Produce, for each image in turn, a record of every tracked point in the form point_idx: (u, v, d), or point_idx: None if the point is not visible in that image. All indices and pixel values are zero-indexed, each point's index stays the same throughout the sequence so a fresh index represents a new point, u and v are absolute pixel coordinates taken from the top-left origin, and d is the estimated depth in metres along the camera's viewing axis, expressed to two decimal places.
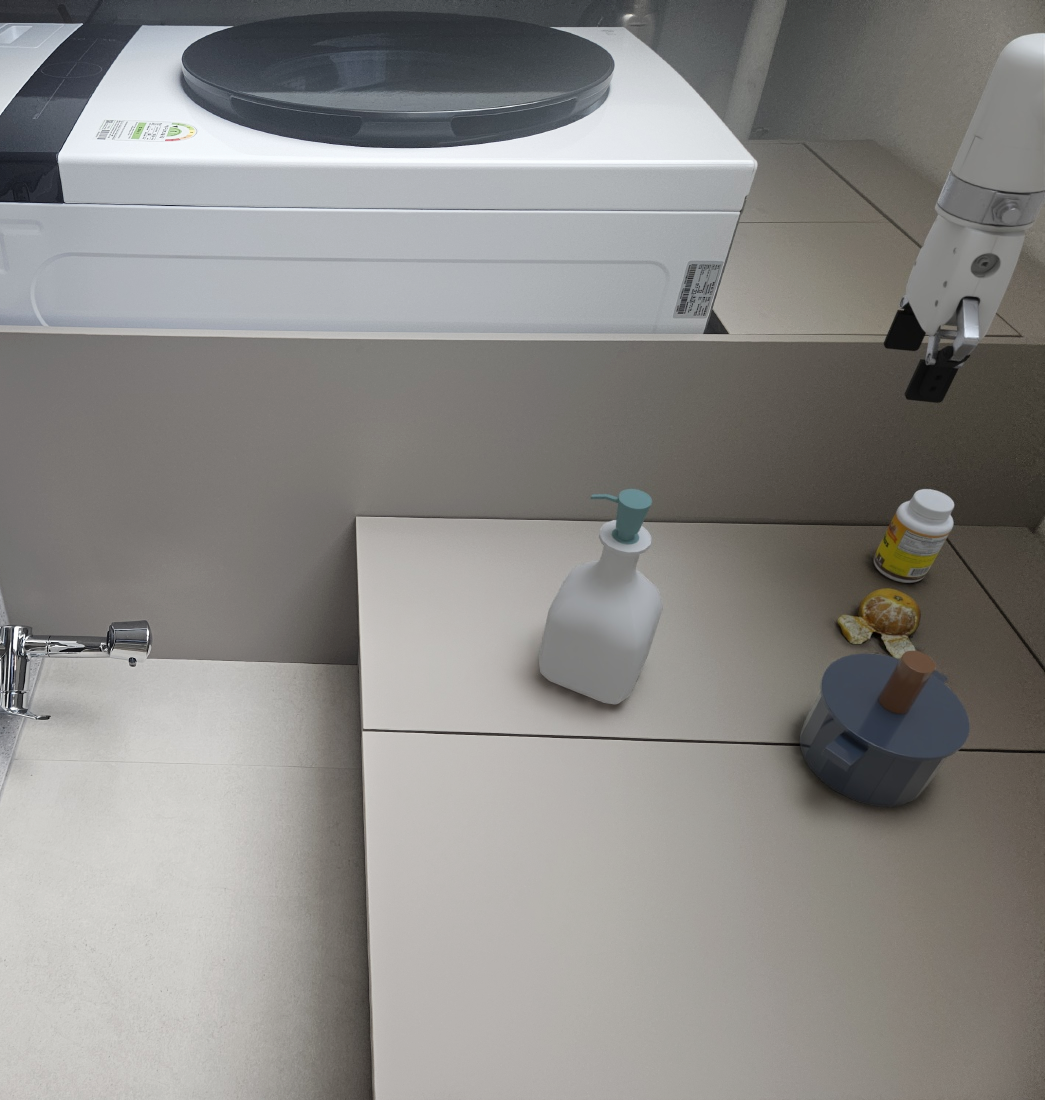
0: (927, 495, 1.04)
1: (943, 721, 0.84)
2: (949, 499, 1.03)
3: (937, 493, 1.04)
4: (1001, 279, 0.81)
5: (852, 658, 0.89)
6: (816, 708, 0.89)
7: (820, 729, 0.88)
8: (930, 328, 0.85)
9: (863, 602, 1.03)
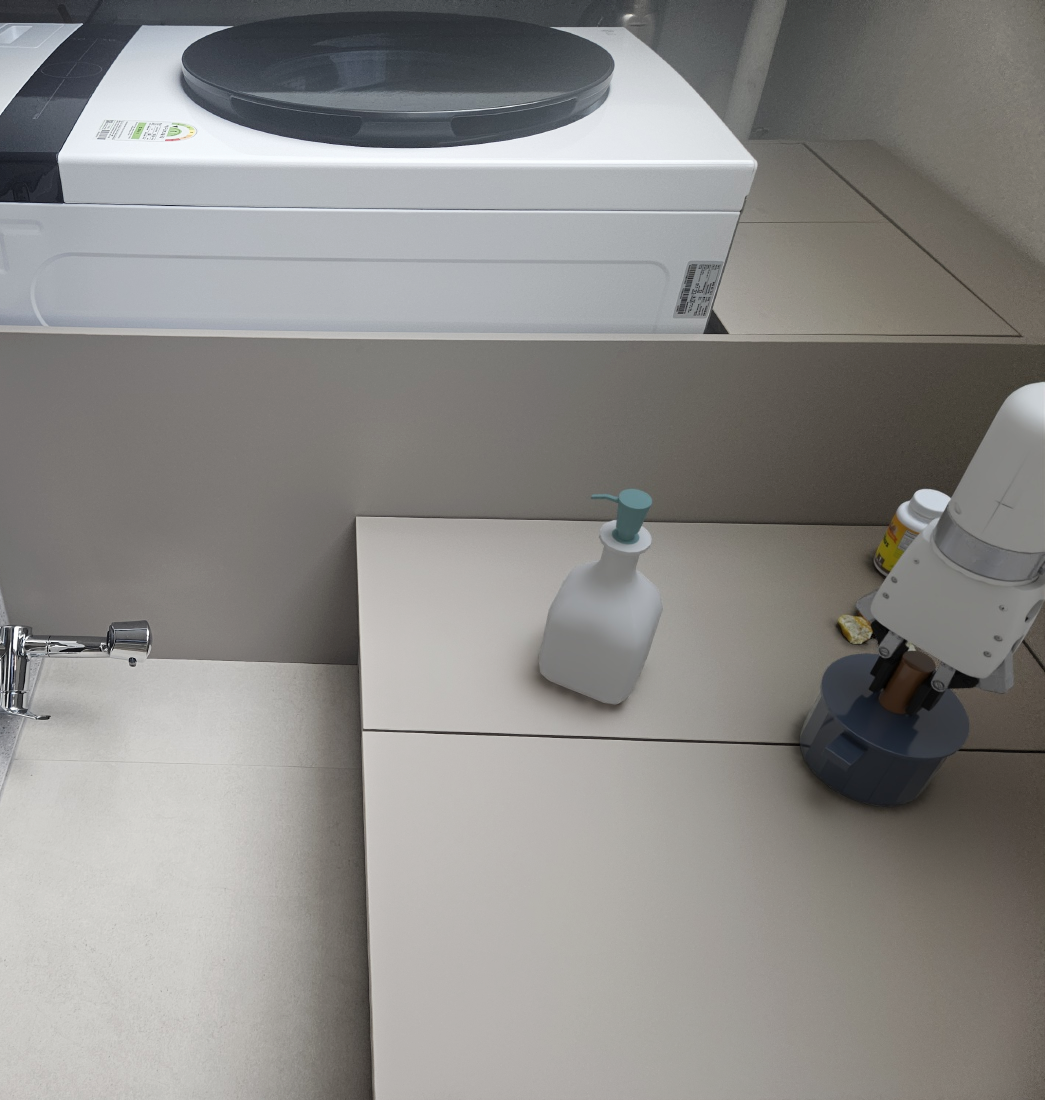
0: (927, 495, 1.04)
1: (943, 721, 0.84)
2: (949, 499, 1.03)
3: (937, 493, 1.04)
4: (1038, 612, 0.74)
5: (852, 658, 0.89)
6: (816, 708, 0.89)
7: (820, 729, 0.88)
8: (982, 674, 0.76)
9: None
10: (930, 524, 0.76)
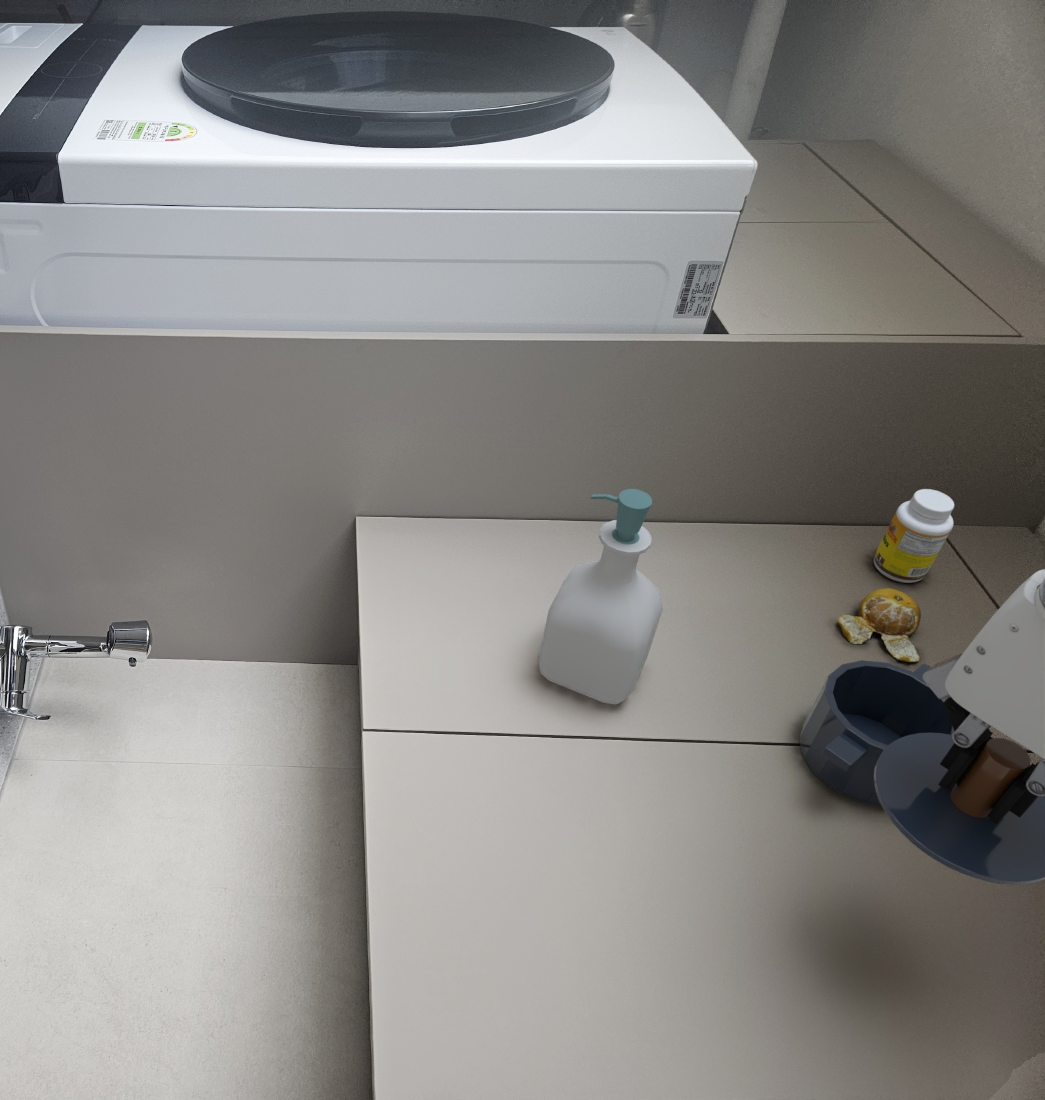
0: (927, 495, 1.04)
1: (1036, 828, 0.65)
2: (949, 499, 1.03)
3: (937, 493, 1.04)
4: None
5: (913, 739, 0.70)
6: (816, 708, 0.89)
7: (820, 729, 0.88)
8: None
9: (863, 602, 1.03)
10: (1032, 579, 0.57)
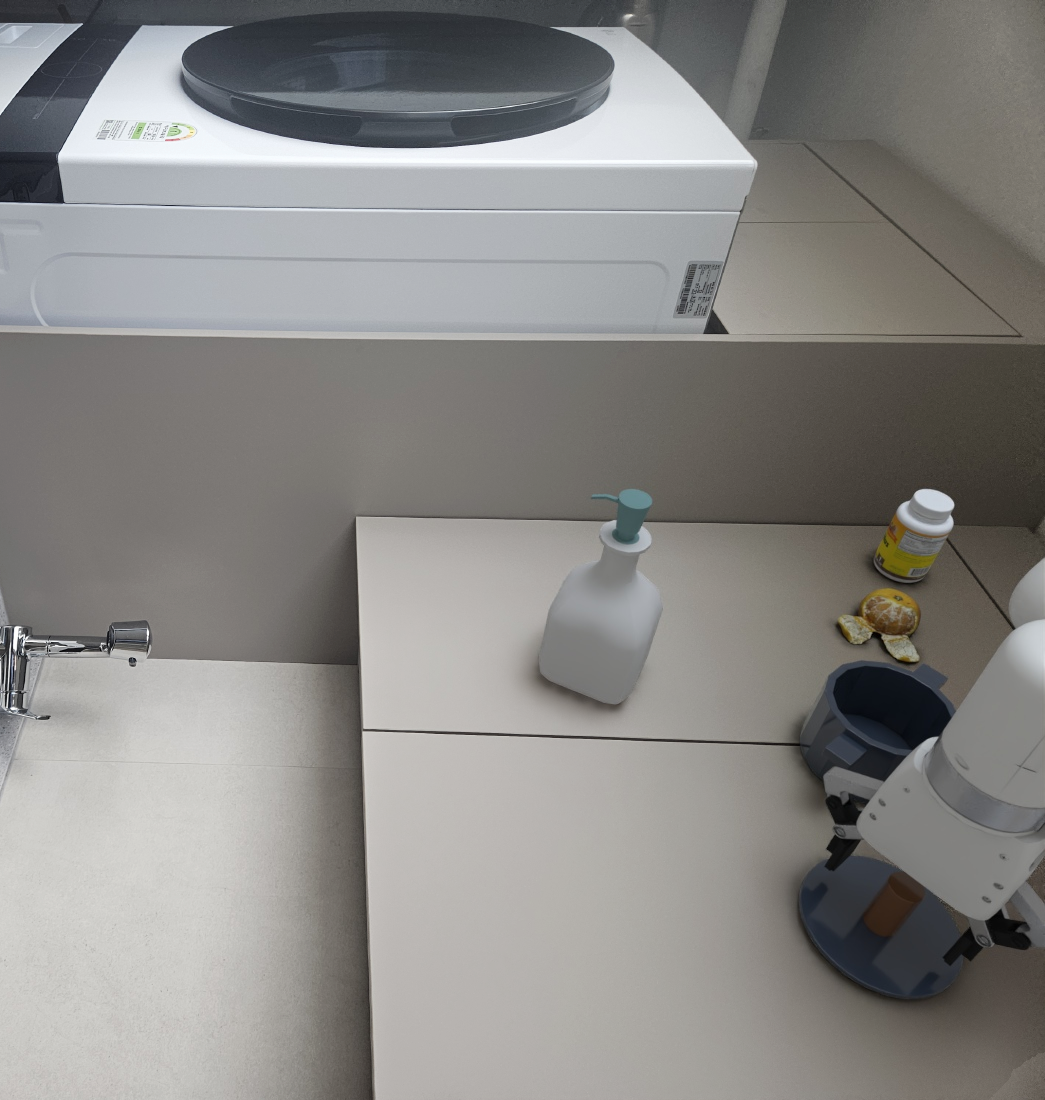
0: (927, 495, 1.04)
1: (934, 947, 0.76)
2: (949, 499, 1.03)
3: (937, 493, 1.04)
4: None
5: None
6: (816, 708, 0.89)
7: (820, 729, 0.88)
8: (980, 917, 0.67)
9: (863, 602, 1.03)
10: (922, 747, 0.68)
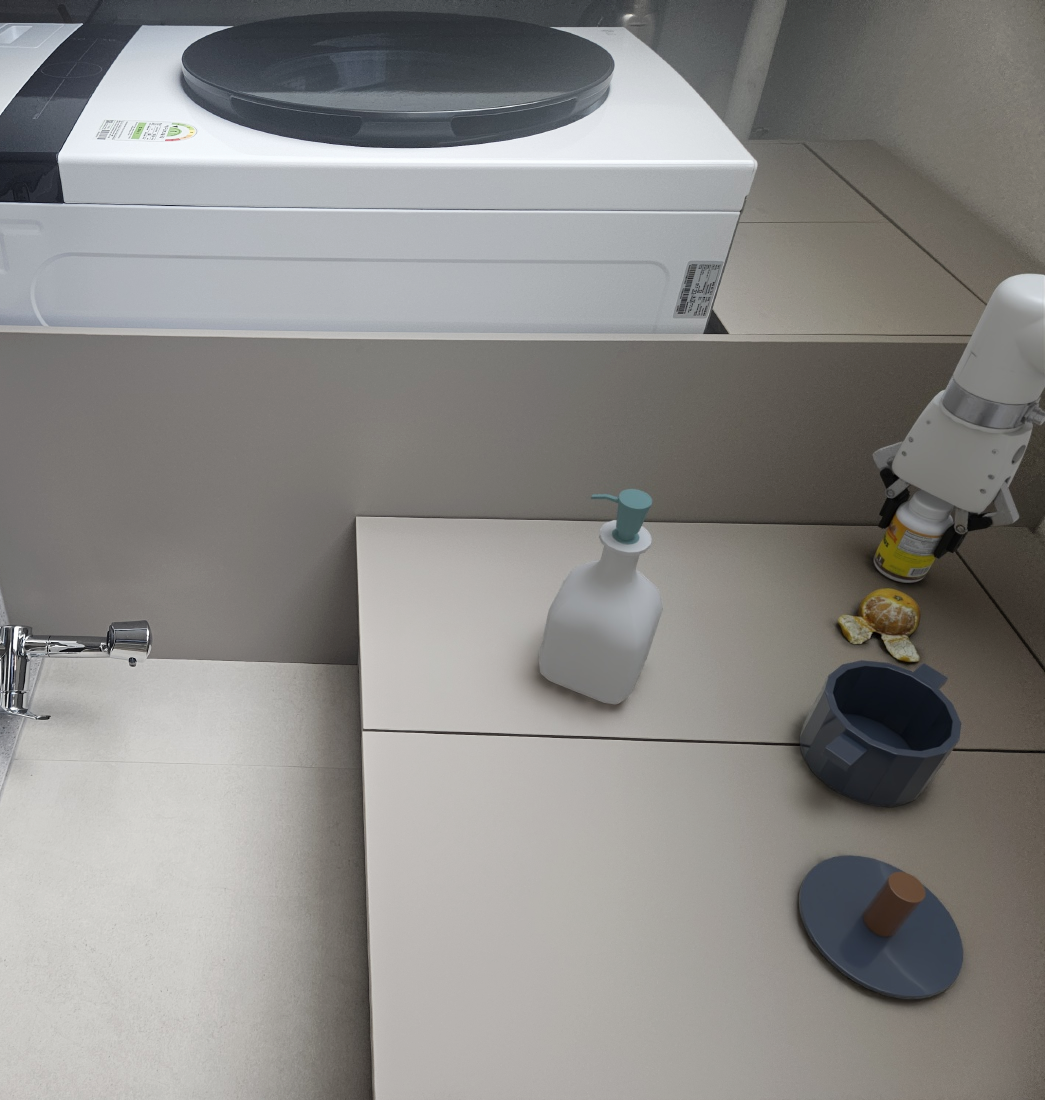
0: (927, 495, 1.04)
1: (934, 947, 0.76)
2: None
3: None
4: (1022, 457, 0.96)
5: (834, 862, 0.81)
6: (816, 708, 0.89)
7: (820, 729, 0.88)
8: (979, 509, 0.98)
9: (863, 602, 1.03)
10: (939, 394, 0.99)
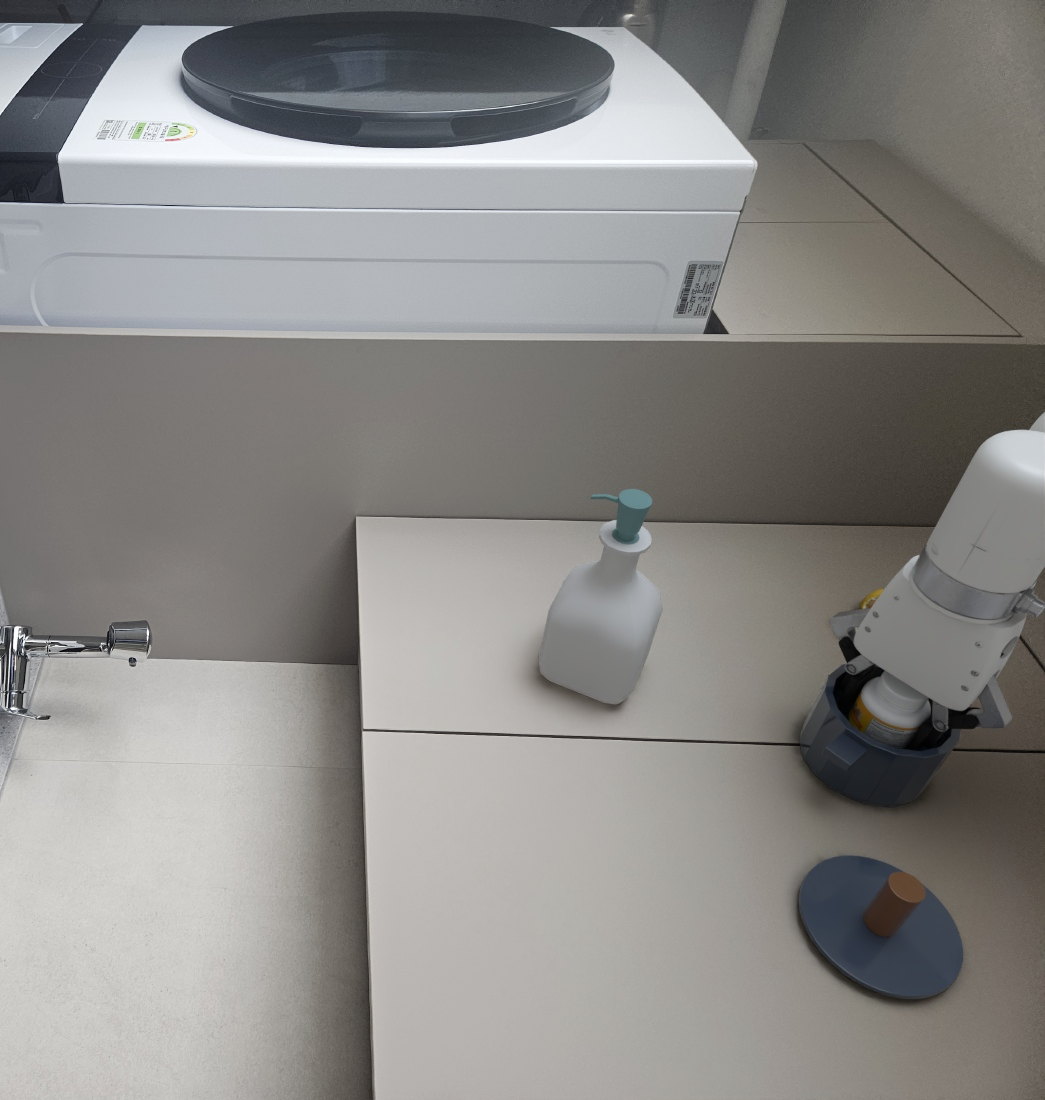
0: None
1: (934, 947, 0.76)
2: None
3: None
4: None
5: (834, 862, 0.81)
6: (816, 708, 0.89)
7: (820, 729, 0.88)
8: (959, 707, 0.78)
9: (863, 602, 1.03)
10: (910, 562, 0.79)
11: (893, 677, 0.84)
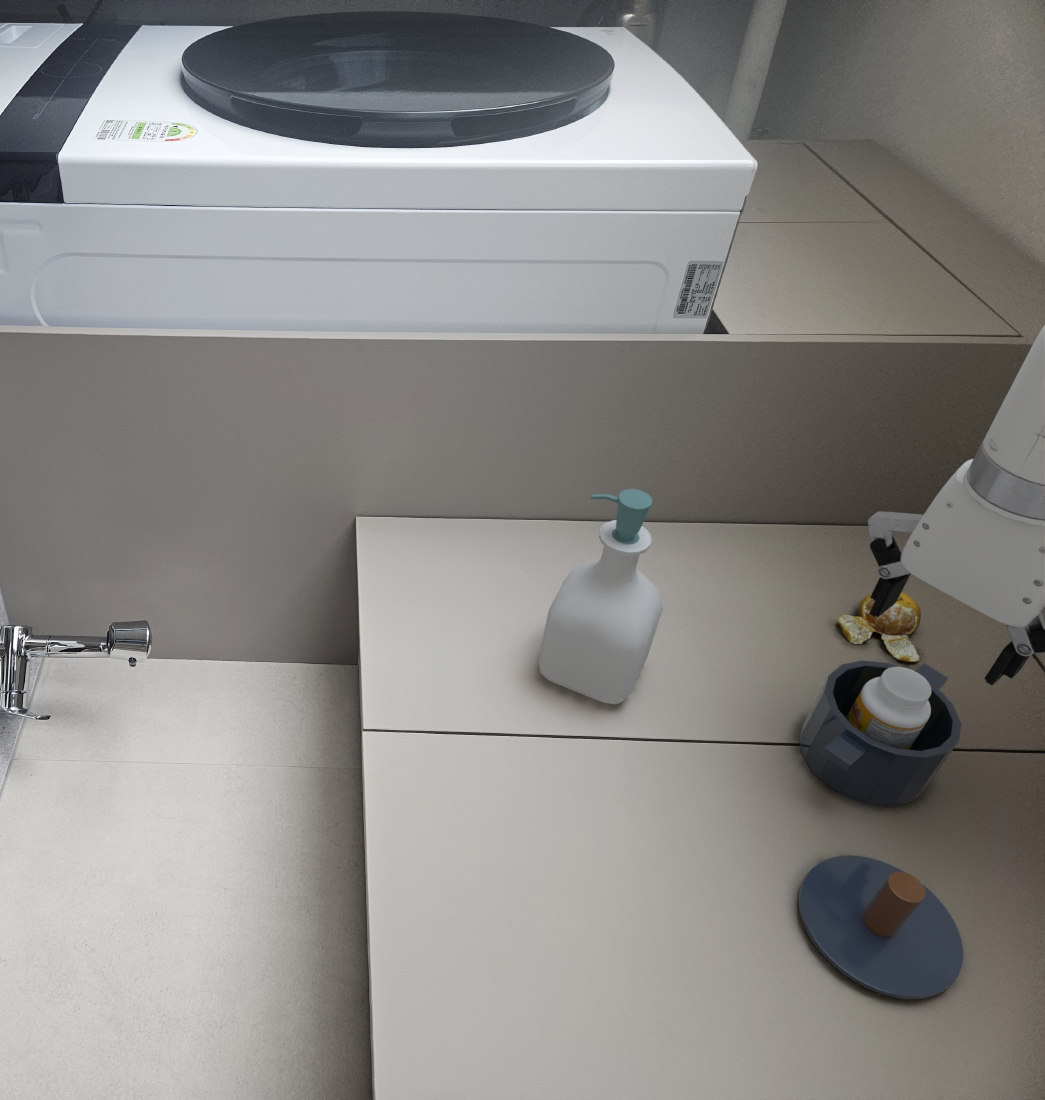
0: (898, 676, 0.84)
1: (934, 947, 0.76)
2: (925, 682, 0.84)
3: (911, 673, 0.84)
4: None
5: (834, 862, 0.81)
6: (816, 708, 0.89)
7: (820, 729, 0.88)
8: (1021, 623, 0.72)
9: (863, 602, 1.03)
10: (963, 466, 0.72)
11: (893, 677, 0.84)
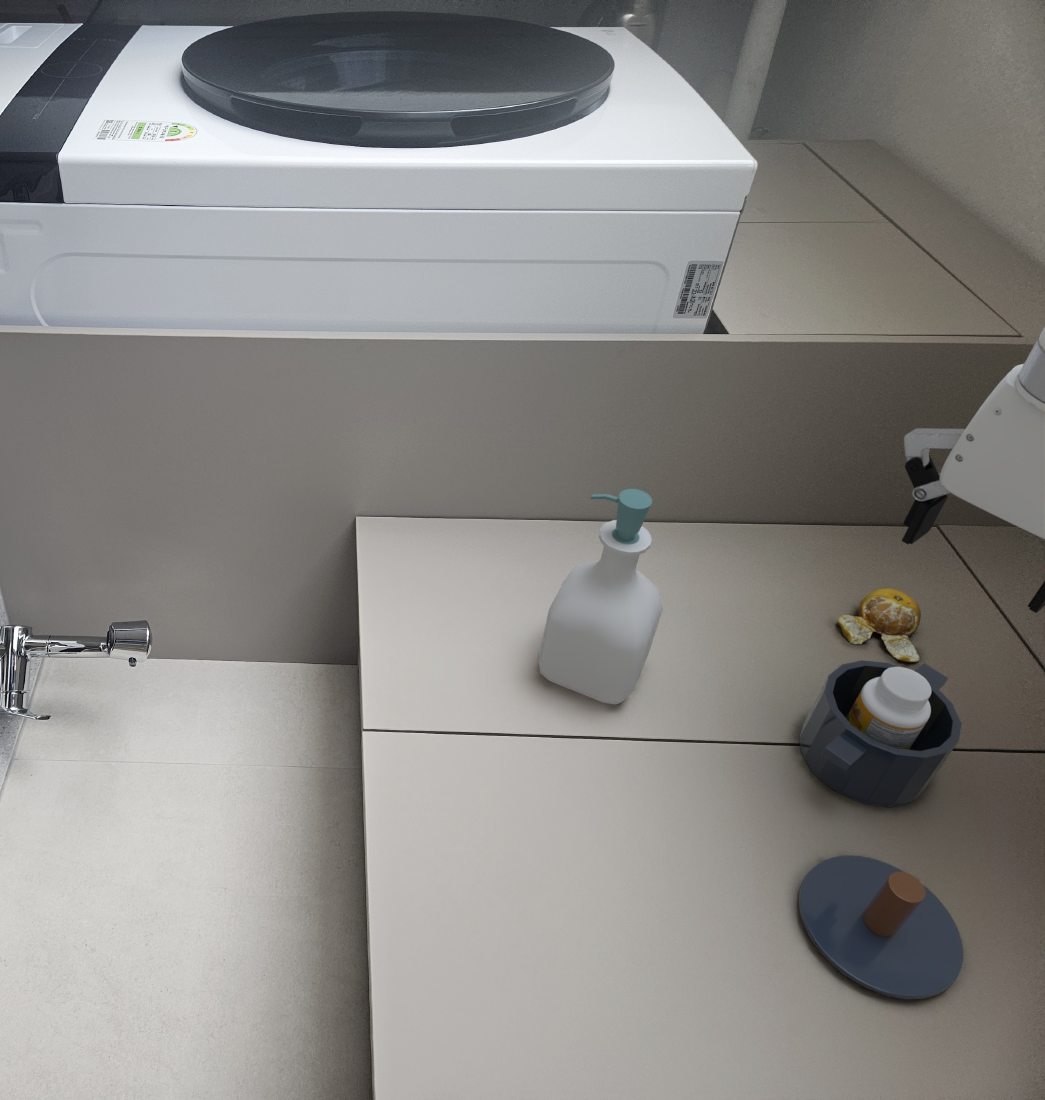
0: (898, 676, 0.84)
1: (934, 947, 0.76)
2: (925, 682, 0.84)
3: (911, 673, 0.84)
4: None
5: (834, 862, 0.81)
6: (816, 708, 0.89)
7: (820, 729, 0.88)
8: None
9: (863, 602, 1.03)
10: (1013, 370, 0.67)
11: (893, 677, 0.84)
